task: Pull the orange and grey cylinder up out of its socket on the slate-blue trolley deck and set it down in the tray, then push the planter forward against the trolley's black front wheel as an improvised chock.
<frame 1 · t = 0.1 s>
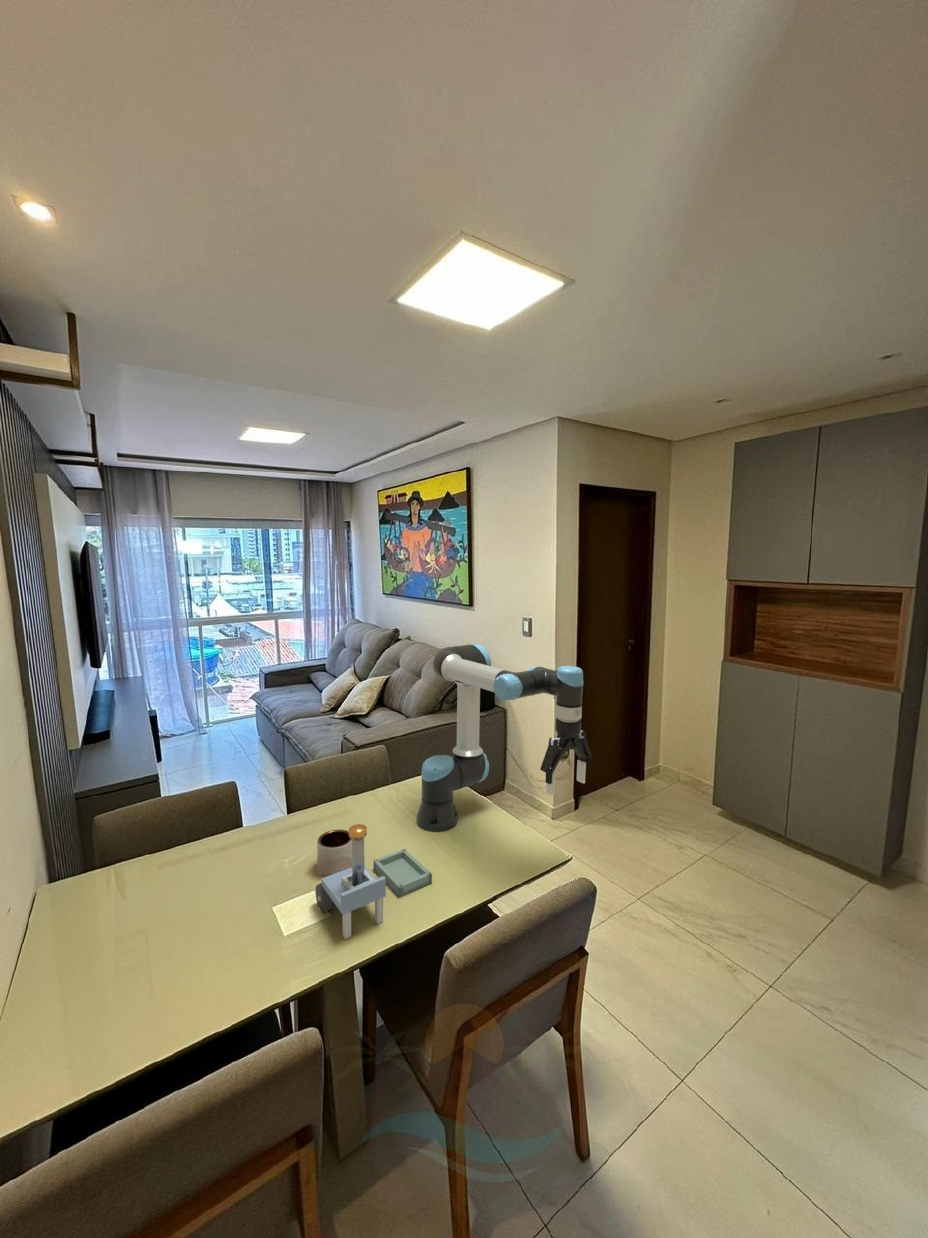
hand: (565, 787, 148), 28 cm above the table, fingers open, 13 cm apart
orange and grey cylinder: (358, 884, 131), point 9 cm above the table, touching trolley
tray: (402, 876, 149), on the table
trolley: (351, 913, 133), on the table
planter: (335, 868, 153), on the table
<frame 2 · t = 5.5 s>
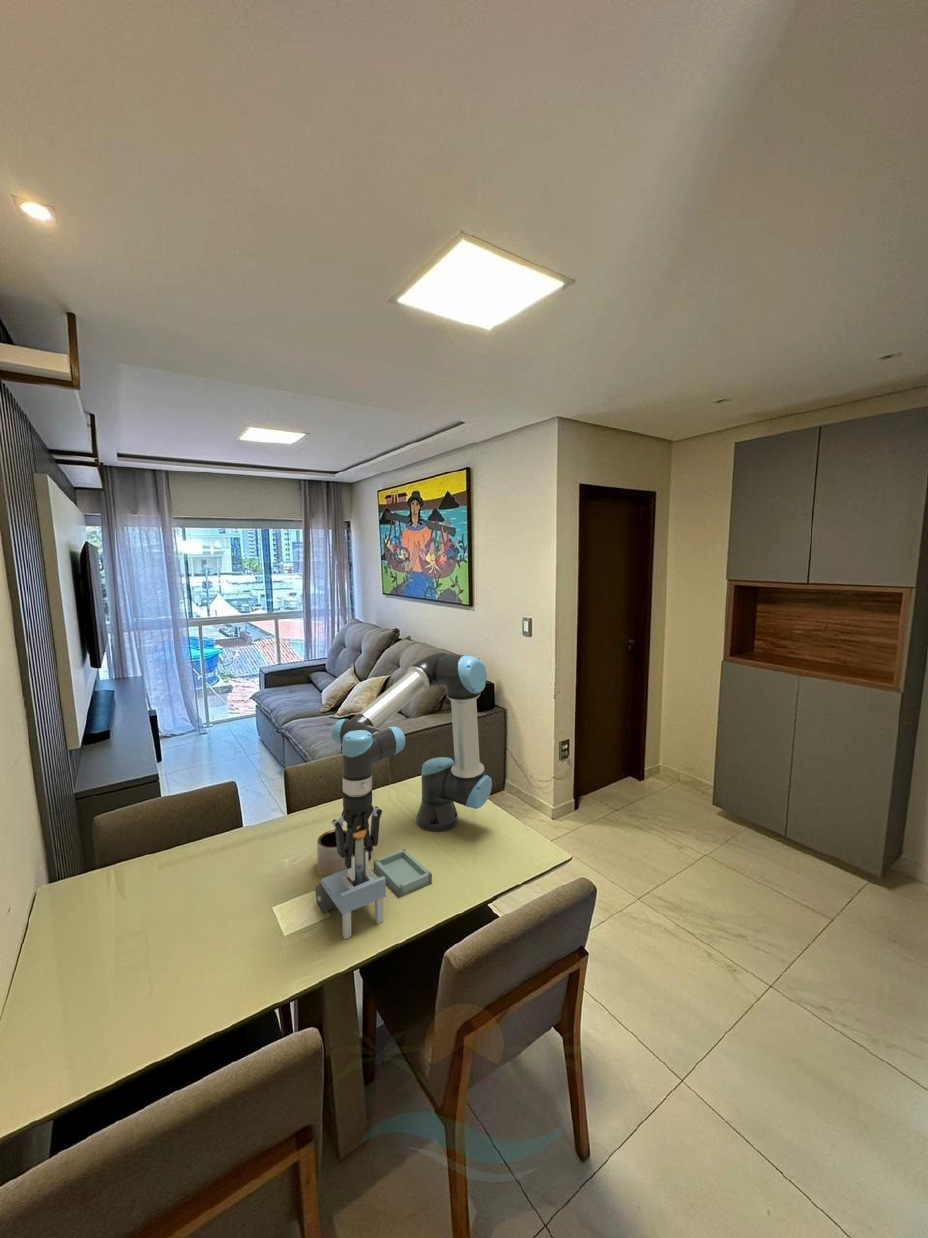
hand: (358, 875, 131), 12 cm above the table, fingers closed on orange and grey cylinder, 3 cm apart
orange and grey cylinder: (358, 884, 131), point 9 cm above the table, touching gripper, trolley
everything else where it was.
when the fingers open (6 cm above the table, at t = 11.1 s): orange and grey cylinder drops 2 cm, resting on tray.
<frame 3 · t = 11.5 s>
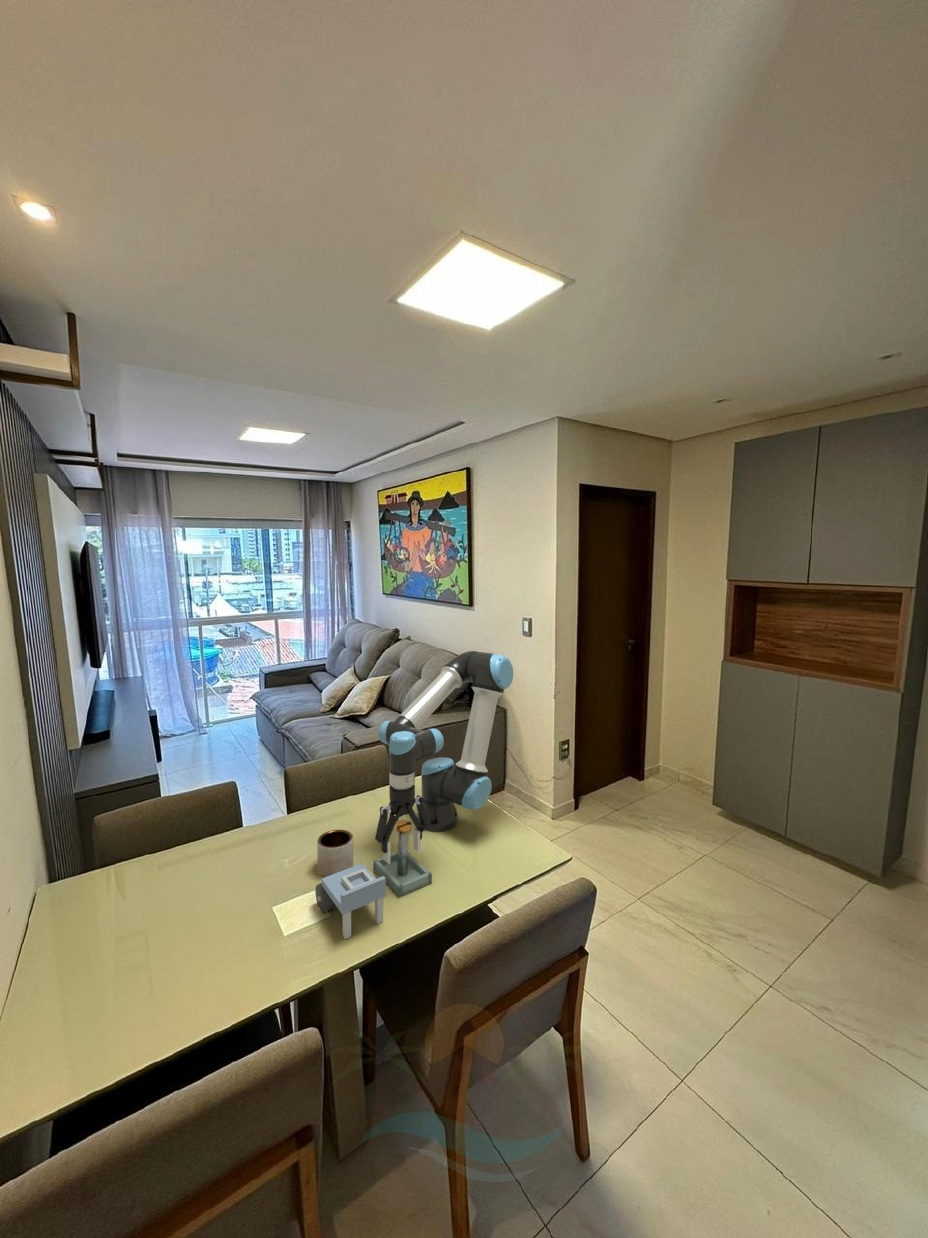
hand: (402, 855, 148), 7 cm above the table, fingers open, 9 cm apart
orange and grey cylinder: (402, 873, 149), point 1 cm above the table, touching tray
everything else where it was.
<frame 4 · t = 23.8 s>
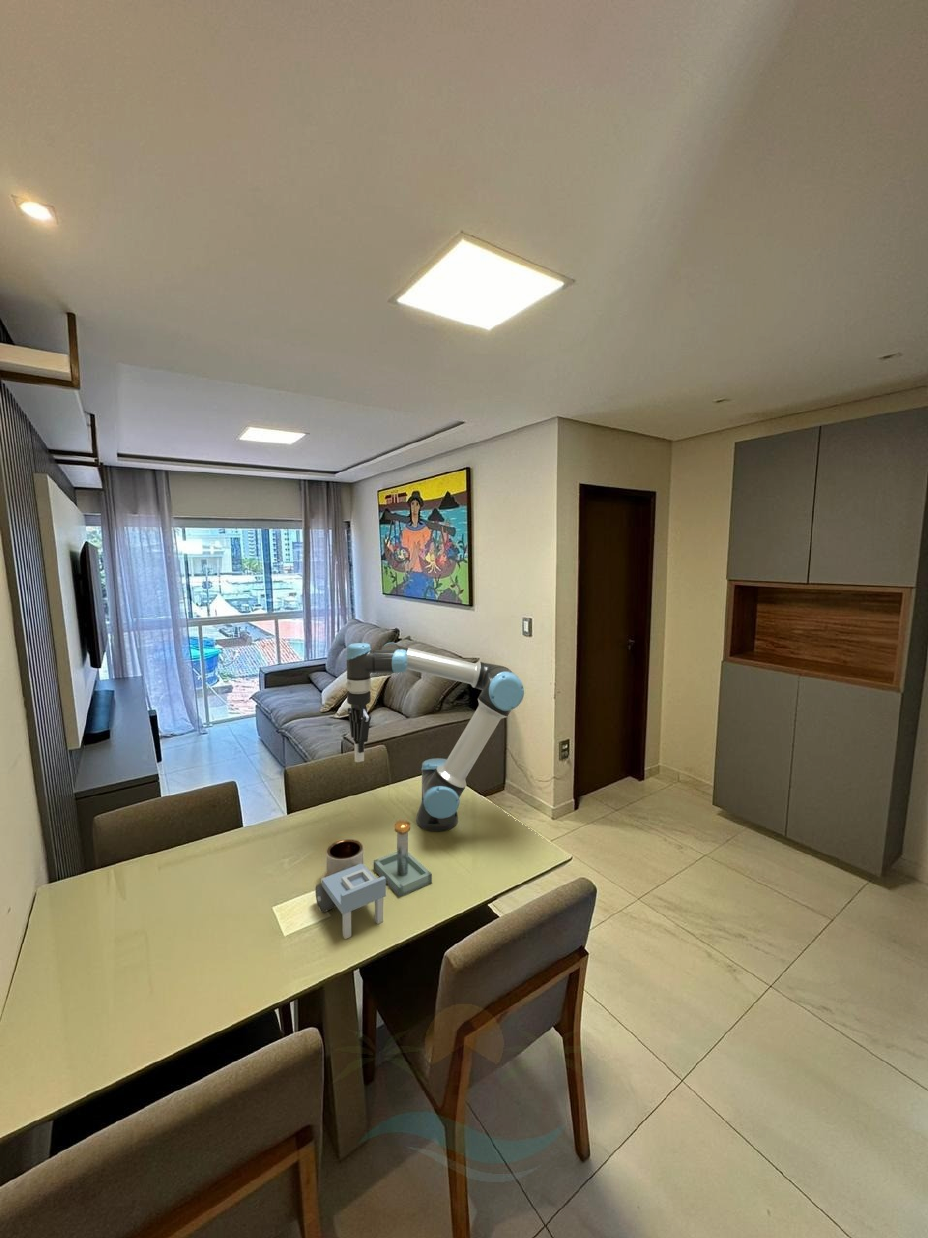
hand: (359, 760, 163), 29 cm above the table, fingers closed
planter: (345, 879, 148), on the table
everything else where it was.
at the end: orange and grey cylinder inside the target area on the tray (0.1 cm from its centre), point 1.0 cm above the tray's base; planter 0.1 cm from the target spot, on the table; the gripper is holding nothing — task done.
